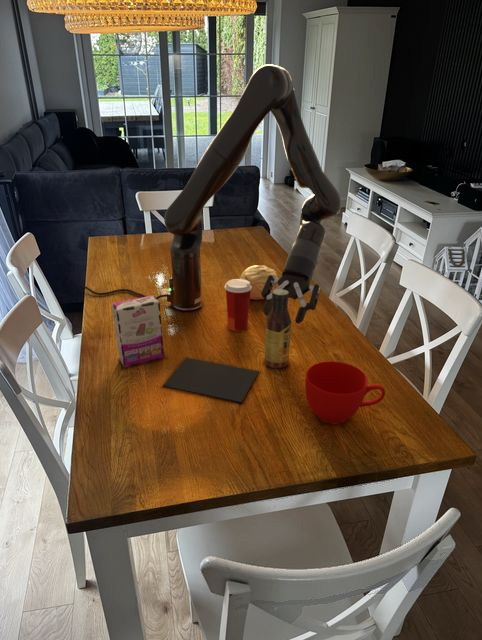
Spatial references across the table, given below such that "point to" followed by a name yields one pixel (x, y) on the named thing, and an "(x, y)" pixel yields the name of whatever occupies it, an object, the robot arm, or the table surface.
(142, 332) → the candy bar box
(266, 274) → the sculpture
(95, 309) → the table surface
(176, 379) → the placemat
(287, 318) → the sauce bottle
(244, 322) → the paper cup
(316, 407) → the ceramic cup
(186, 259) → the robot arm
